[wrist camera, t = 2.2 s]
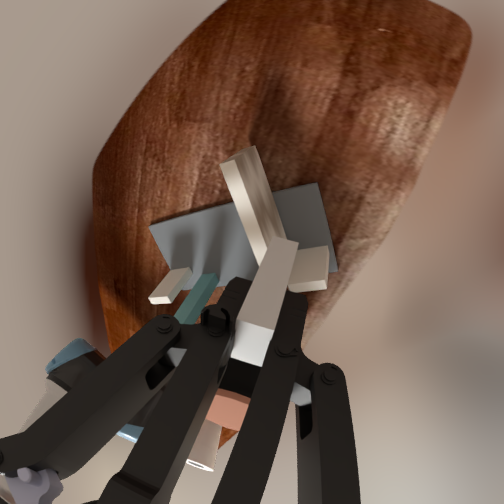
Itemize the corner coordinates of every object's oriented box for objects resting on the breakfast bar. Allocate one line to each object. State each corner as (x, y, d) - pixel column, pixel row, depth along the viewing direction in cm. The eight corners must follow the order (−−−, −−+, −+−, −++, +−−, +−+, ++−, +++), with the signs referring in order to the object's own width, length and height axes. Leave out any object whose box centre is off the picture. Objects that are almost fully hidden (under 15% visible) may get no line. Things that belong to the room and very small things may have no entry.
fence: (174, 276, 43) (152, 304, 37) (170, 270, 43) (148, 297, 37) (329, 253, 34) (326, 288, 28) (327, 245, 33) (324, 279, 27)
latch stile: (207, 280, 42) (172, 336, 33) (203, 272, 42) (165, 327, 32) (220, 279, 41) (186, 337, 32) (216, 270, 41) (180, 328, 31)
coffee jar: (221, 297, 44) (171, 390, 29) (281, 282, 39) (244, 393, 24) (252, 341, 48) (218, 429, 33) (307, 332, 43) (286, 434, 28)
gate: (289, 246, 34) (278, 280, 28) (277, 248, 35) (265, 282, 29) (255, 145, 29) (234, 159, 23) (242, 149, 29) (219, 164, 23)
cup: (193, 409, 75) (171, 455, 61) (215, 408, 70) (193, 460, 55) (216, 424, 78) (198, 468, 63) (239, 424, 73) (221, 472, 58)
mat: (183, 288, 45) (181, 290, 44) (150, 224, 40) (148, 226, 39) (338, 268, 35) (338, 271, 35) (317, 181, 30) (316, 183, 29)
